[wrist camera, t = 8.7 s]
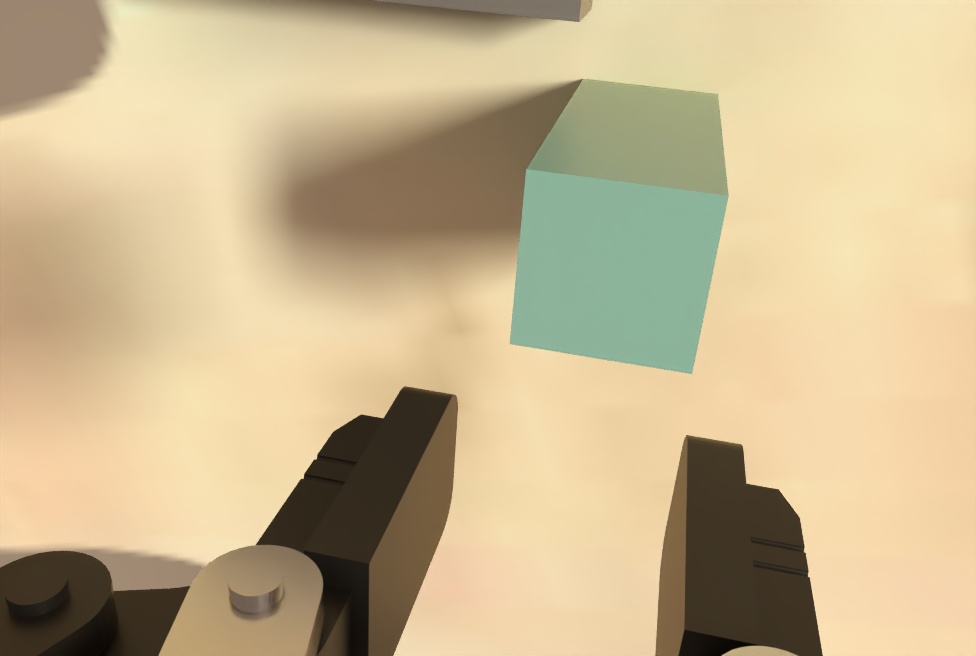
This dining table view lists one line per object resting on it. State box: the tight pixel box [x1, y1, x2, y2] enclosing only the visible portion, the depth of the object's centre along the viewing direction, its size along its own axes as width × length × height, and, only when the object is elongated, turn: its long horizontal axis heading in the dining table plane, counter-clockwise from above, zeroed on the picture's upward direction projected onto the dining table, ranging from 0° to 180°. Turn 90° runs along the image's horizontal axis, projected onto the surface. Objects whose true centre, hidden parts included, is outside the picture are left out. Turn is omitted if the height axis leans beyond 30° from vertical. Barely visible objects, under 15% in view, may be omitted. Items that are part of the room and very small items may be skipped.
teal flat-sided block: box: [510, 79, 728, 374], centre depth 23 cm, size 4×4×10 cm
